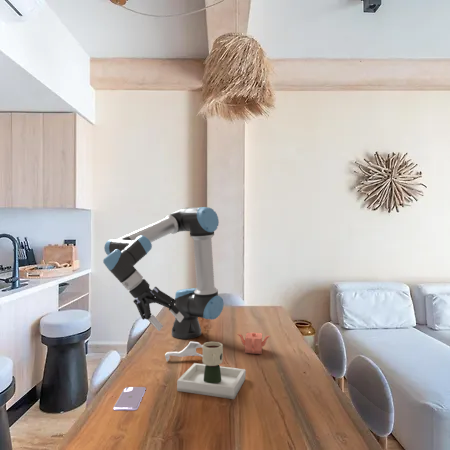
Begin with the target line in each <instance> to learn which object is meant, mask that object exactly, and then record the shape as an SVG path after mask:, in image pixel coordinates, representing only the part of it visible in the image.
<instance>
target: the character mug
mask: <svg viewBox="0 0 450 450" xmlns="http://www.w3.org/2000/svg"><path fill="white" fill-rule="evenodd" d="M202 345H203V348H202V355H203V357H202V364H205V365H206V366H205V371H204V382H207V383H219V382H221V371H220V366H221V364H222V363H223V359H224V356H223V355H224V354H223V352H224V351H223V350H224V347H223V346H224V345H223V343H221V342H219V341H207V342H204V343H203V344H202Z"/></svg>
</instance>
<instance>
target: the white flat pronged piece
mask: <svg viewBox="0 0 450 450" xmlns="http://www.w3.org/2000/svg"><path fill="white" fill-rule="evenodd" d="M199 348H200V349H201V348H202V349H203V344H201V343H200V342H198V341H193V340H192V341H189V343H188V344H187V345H186V346H185V347H184V348H183V349H182V350H180V351H167V352H166V353H165V354H164V356H165V360H166V362H169V360H170V359H171V358H170V357H172V356H174V357H178V358H179V357H180V358H181V357H190V356H192V357H195V356H197V357H201V358H203V353H202V354H201V353H199V352H197V349H199Z"/></svg>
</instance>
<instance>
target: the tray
mask: <svg viewBox="0 0 450 450" xmlns="http://www.w3.org/2000/svg"><path fill="white" fill-rule="evenodd" d="M205 366H206V365H205V364H203V363H197V362H193V364H192V365H191V366H190V367H189V368H188V369H187V370H186V371H185V372H184V373H183V374H182V375H180V377H179V378H178V379H177V381H176V391H177V392H183V393H190V394H194V395H195V394H196V395H202V396H203V395H204V396H209V397H210V396H211V397H217V398H222V399H223V398H224V399H231V400H235V398H236V397H237V395H238V393H239V391H240V390H241V389H242V385H243V384H244V382H245V380H246V374H247V373H246V369H245V368H237V367H229V366H221V365H219V366H220V371H221V382H219V383H207V382H204V371H205Z"/></svg>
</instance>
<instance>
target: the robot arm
mask: <svg viewBox="0 0 450 450" xmlns="http://www.w3.org/2000/svg"><path fill="white" fill-rule="evenodd" d="M219 223H220V222H219V216H218V214H217V212H216V211H215V210H214V209H213V208H211V207H208V206H201V207H200V206H197V207H185V208H180V209H179V210H176V211H174V212H171V213H169V214H167V215H165V216H164V218H163V219H160V220H158V221H155V222H154V223H152V224H149V225H146V226H145V227H142V228H140V229H138V230H135V231H133V232H131V233H129V234H125V235H124V236H121V237H119V238H112V239H108V240H107V241H106V242H105V244H104V253H106V255H107V256H105V258H103V260H102V261H103V264H104V265H105V267H106V268H107V269H108V271H109V272H110V273H111V274H112V275H113V276H114V277H115V278H116V279H117V280H118V281H119V282H120V284H121V285H122V286H123V287H124V288H125V289H126V290H127V291H129V293H130V295H131V296H132V297H133V298H134V299H133V301H132V302H133V303H134V304H135V306H136V307H137V310H138V313H139V315H140V317H141V319H142V320H147V321H149V323H150V324H151V325H152V326H153V327H155V329H156V330H157V331H158V332H160V331H161V330H162V328H163V327H164V325H163V324H162V323H161V322H160V321H159V320H158V318H157V317H156V316H155V315H154V314H153V313H151V307H150V304H158V305H160V306H162V307H165V308H167V309H168V311H169V312H170V313H171V314H172V316H173V317H174V322H173V325H172V328H171V336H172V337H173V338H176V339H186V340H187V339H195V338H198V337H200V336H202V328H201V324H200V321H199V318H202V319H204V320H216V319H217V318H219V317H220V315H221V313H222V312H223V311H224V304H225V302H224V299H223V298H222V296H221V295H219V290H218V289H217V288H216V287H215V276H214V275H215V274H214V272H215V271H214V259H213V245H212V244H213V241H212V238H213V237H214V236H215V231H216V230H217V229H218V227H219ZM179 232H189V236H190V238H191V239H192V240H193V248H194V249H193V250H194V251H193V253H194V266H195V279H196V280H195V281H196V287H195V288H194V287H192V288H183V289H178V290H177V291H176V292H175V296H174V297H175V298H173V296H172V297H171V296H170V295H168V294H167V293H165V292H163V291H162V290H160V288H158V287H157V286H154V287H153V289H151V288H150V283H149V282H148V281H147V280H146V279H145V278H144V277H143V276H142V274H141V273H140V272H139V271H138V270H137V268H136V267H135V265H136V264H137V263H138V262H139V261H140V260H142V259H143V258H144V257H145V256H147V255H148V254H149V252H150V251H151V250H152V248H153V244H152V243H153V242H155V241H157V240H160V239H161V238H163V237H166V236H167V235H170V234H173V235H174V234H177V233H179Z"/></svg>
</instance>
